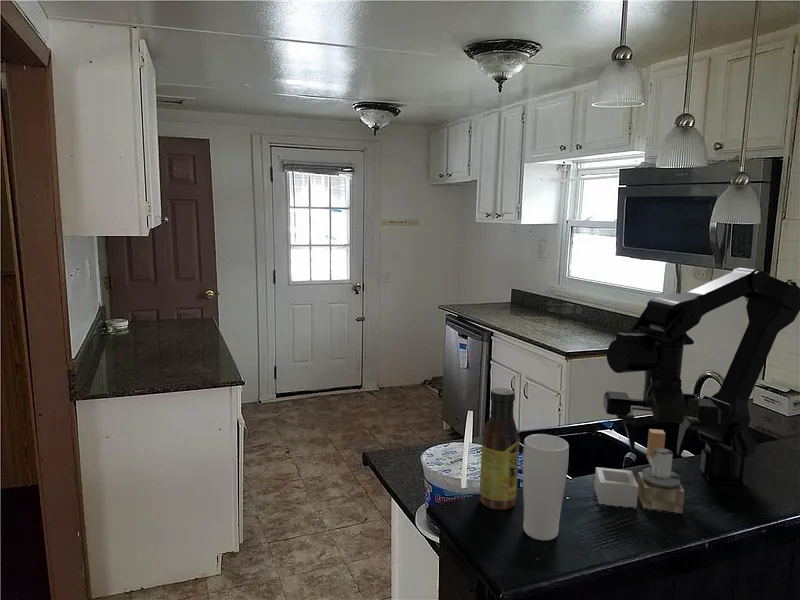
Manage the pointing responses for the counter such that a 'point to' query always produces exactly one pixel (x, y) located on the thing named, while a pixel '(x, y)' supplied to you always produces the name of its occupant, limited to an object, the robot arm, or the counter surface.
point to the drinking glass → (543, 484)
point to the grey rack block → (616, 487)
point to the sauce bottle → (500, 453)
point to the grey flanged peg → (661, 471)
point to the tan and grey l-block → (654, 443)
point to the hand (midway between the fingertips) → (655, 452)
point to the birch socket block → (660, 497)
